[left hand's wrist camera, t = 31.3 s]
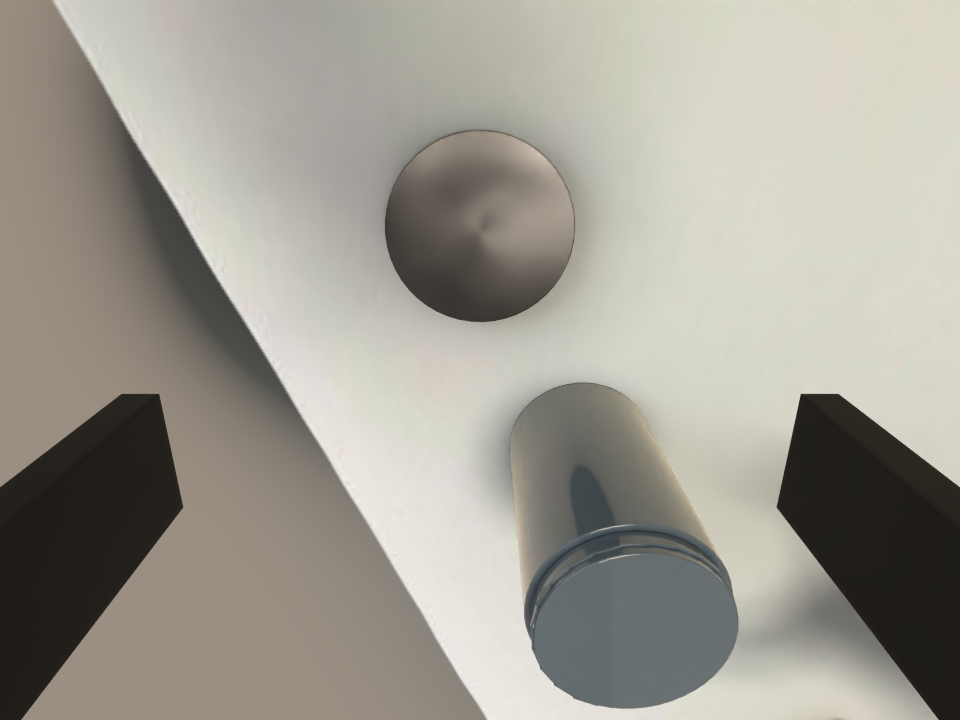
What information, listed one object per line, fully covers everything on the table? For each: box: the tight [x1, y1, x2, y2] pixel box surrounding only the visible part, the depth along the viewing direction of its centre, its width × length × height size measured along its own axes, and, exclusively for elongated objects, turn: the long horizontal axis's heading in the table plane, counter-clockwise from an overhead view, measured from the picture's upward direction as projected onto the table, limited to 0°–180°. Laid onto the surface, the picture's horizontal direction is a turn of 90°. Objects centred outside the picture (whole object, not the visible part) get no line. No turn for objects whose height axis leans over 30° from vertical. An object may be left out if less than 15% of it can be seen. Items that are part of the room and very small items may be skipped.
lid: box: [385, 130, 575, 322], centre depth 39 cm, size 12×12×2 cm
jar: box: [510, 383, 738, 709], centre depth 37 cm, size 10×10×18 cm
